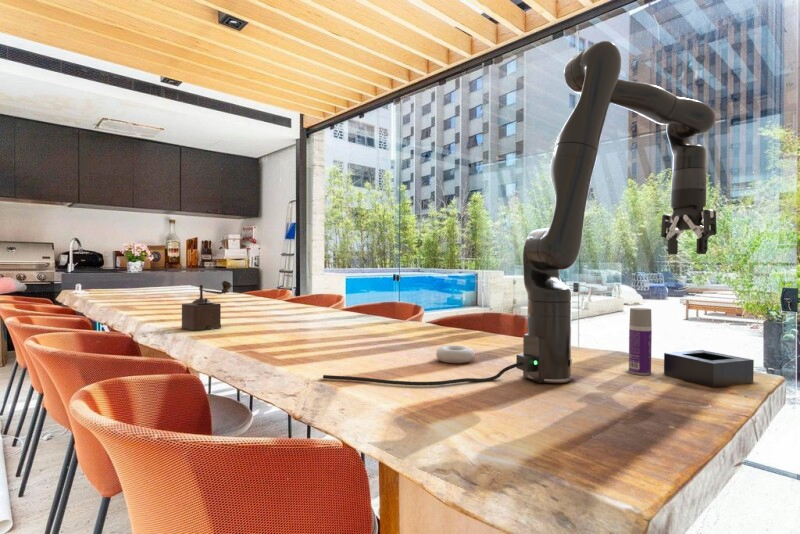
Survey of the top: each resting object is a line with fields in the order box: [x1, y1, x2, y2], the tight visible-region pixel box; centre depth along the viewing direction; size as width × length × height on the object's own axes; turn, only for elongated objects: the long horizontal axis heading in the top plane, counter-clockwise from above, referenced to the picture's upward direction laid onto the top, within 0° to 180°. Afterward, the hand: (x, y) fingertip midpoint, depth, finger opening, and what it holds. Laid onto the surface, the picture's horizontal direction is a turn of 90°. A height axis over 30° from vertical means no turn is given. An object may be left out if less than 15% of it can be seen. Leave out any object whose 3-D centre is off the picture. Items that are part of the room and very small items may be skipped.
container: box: [628, 307, 653, 376], centre depth 112 cm, size 5×5×15 cm
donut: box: [435, 345, 475, 364], centre depth 124 cm, size 10×4×10 cm
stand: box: [663, 349, 755, 388], centre depth 107 cm, size 12×12×5 cm
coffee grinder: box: [181, 279, 233, 332], centre depth 182 cm, size 16×11×18 cm
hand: (686, 254), depth 118 cm, fingers open, 8 cm apart
